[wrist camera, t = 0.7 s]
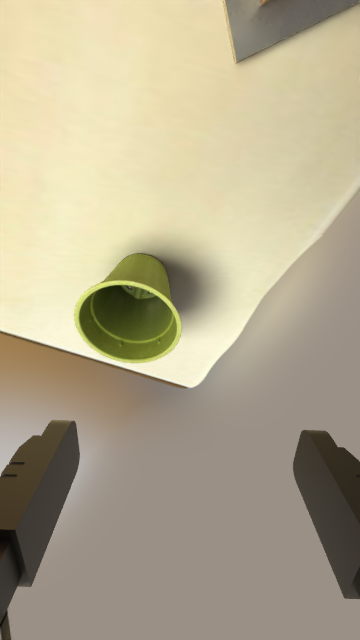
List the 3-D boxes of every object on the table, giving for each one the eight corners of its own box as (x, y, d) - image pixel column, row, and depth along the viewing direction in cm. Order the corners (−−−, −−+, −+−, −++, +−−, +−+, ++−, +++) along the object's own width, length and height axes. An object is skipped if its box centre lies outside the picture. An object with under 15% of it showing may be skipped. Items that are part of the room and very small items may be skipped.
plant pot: (200, 264, 38) (202, 315, 30) (158, 319, 45) (150, 375, 36) (121, 217, 35) (97, 260, 26) (88, 285, 41) (59, 338, 32)
